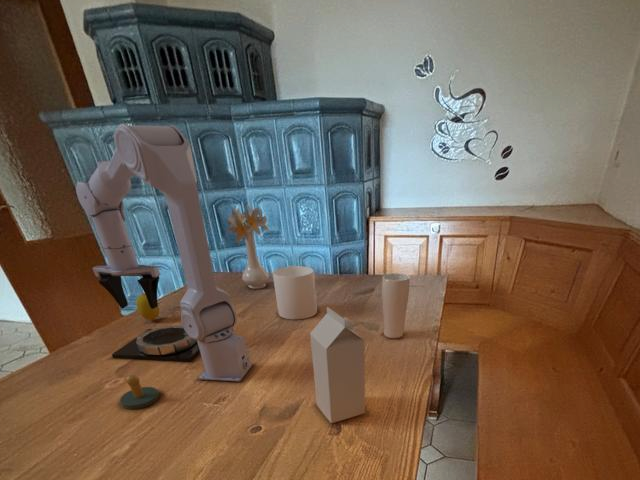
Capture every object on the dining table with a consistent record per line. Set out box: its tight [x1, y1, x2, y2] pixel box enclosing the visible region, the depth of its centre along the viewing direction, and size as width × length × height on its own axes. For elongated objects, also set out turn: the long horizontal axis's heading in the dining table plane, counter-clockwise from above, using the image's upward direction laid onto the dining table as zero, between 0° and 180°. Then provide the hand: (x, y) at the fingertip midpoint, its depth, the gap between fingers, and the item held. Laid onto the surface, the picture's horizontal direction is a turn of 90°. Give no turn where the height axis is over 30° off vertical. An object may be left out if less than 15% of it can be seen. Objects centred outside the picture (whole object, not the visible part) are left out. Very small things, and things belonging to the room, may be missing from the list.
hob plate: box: [111, 328, 201, 363], centre depth 98 cm, size 20×16×1 cm
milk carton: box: [309, 306, 366, 424], centre depth 68 cm, size 7×7×19 cm
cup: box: [272, 265, 318, 321], centre depth 113 cm, size 12×12×12 cm
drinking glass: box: [381, 272, 411, 339], centre depth 98 cm, size 7×7×15 cm
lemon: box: [135, 292, 160, 322], centre depth 110 cm, size 6×6×8 cm
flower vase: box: [226, 204, 270, 290], centre depth 130 cm, size 13×18×25 cm
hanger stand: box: [119, 374, 160, 410], centre depth 76 cm, size 7×7×6 cm
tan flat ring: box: [136, 324, 197, 355], centre depth 96 cm, size 13×13×2 cm
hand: (139, 307), depth 93 cm, fingers open, 7 cm apart
